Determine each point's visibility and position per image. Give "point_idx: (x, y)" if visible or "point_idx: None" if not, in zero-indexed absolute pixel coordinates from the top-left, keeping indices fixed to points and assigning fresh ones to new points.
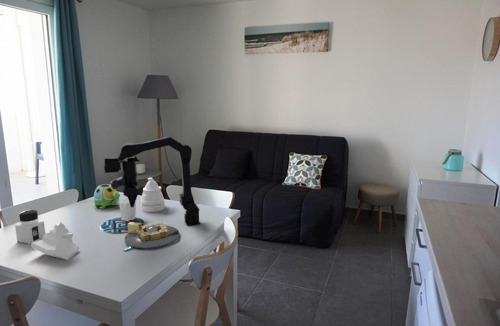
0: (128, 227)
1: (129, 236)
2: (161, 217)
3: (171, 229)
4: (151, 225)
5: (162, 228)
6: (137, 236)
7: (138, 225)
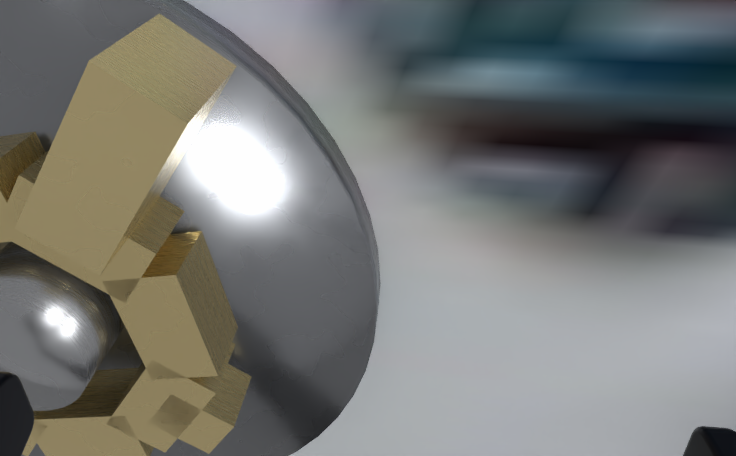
0: (117, 50)
1: (24, 26)
2: (712, 422)
3: (189, 450)
4: (76, 361)
5: (35, 426)
6: (19, 132)
7: (22, 226)
